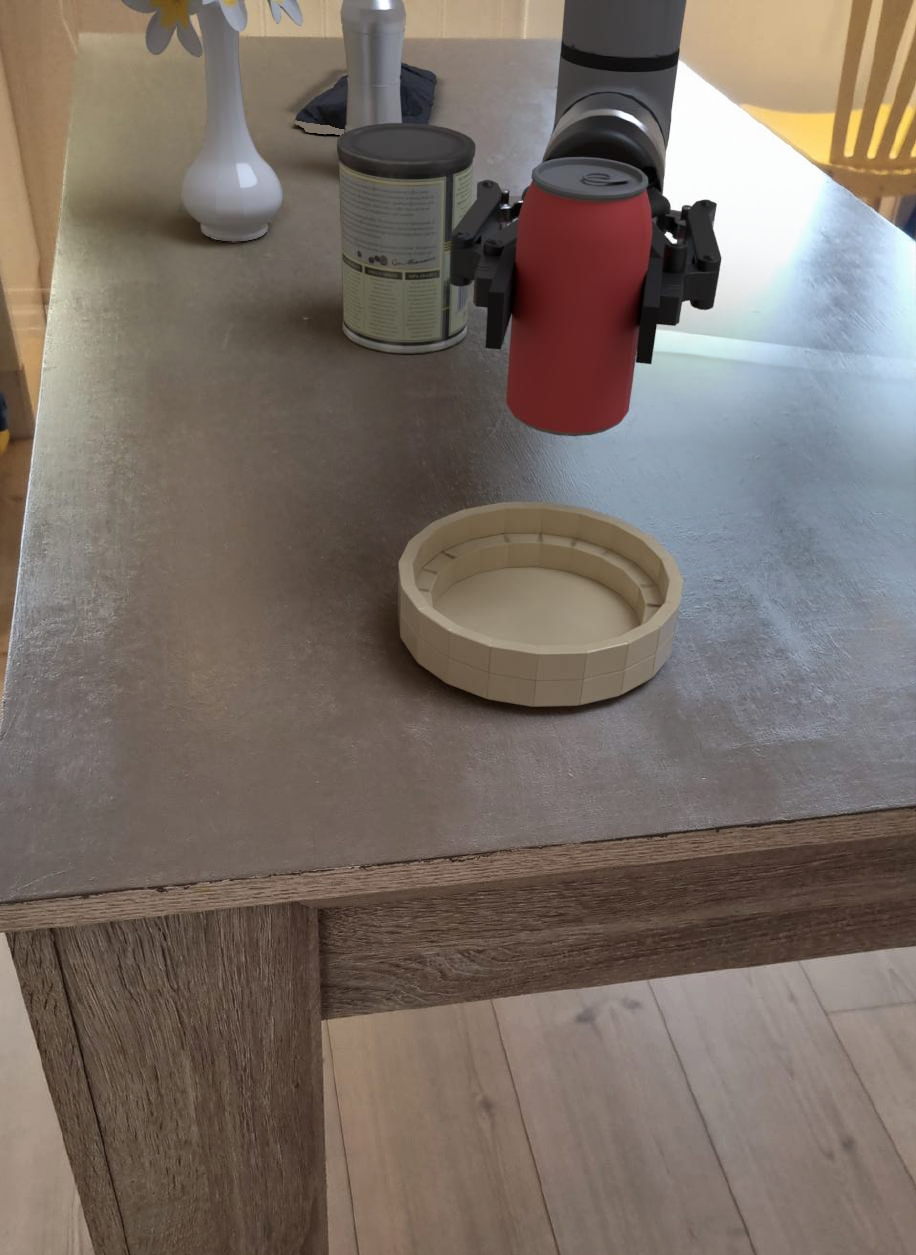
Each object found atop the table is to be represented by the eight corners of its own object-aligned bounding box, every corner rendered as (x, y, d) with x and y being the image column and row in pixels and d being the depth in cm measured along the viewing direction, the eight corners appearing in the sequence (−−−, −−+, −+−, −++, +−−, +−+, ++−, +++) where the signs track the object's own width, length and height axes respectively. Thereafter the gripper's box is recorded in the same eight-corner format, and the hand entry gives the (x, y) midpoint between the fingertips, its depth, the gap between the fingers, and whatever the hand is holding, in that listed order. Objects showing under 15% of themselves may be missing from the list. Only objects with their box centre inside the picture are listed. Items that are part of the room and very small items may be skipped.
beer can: (637, 442, 68) (671, 198, 60) (511, 441, 67) (528, 195, 59) (617, 387, 73) (646, 154, 64) (499, 386, 72) (514, 152, 64)
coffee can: (334, 307, 109) (330, 122, 100) (455, 303, 111) (462, 121, 101) (348, 357, 102) (344, 163, 92) (478, 353, 103) (487, 161, 94)
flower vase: (134, 262, 115) (91, -78, 98) (200, 197, 129) (173, -111, 112) (277, 277, 114) (259, -65, 97) (329, 210, 127) (320, -100, 110)
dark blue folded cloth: (455, 95, 161) (457, 52, 158) (420, 145, 145) (421, 98, 141) (334, 85, 162) (333, 41, 159) (287, 133, 146) (284, 86, 143)
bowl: (683, 581, 79) (694, 523, 77) (656, 737, 68) (667, 674, 65) (434, 544, 81) (435, 486, 79) (366, 688, 70) (365, 626, 67)
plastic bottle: (357, 189, 132) (353, -44, 119) (334, 169, 137) (328, -57, 124) (415, 183, 135) (419, -46, 121) (391, 164, 139) (391, -59, 126)
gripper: (752, 259, 80) (762, 423, 63) (439, 232, 82) (368, 384, 65) (776, 126, 75) (795, 266, 58) (443, 99, 77) (367, 227, 60)
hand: (570, 328), depth 62 cm, fingers closed on beer can, 6 cm apart
